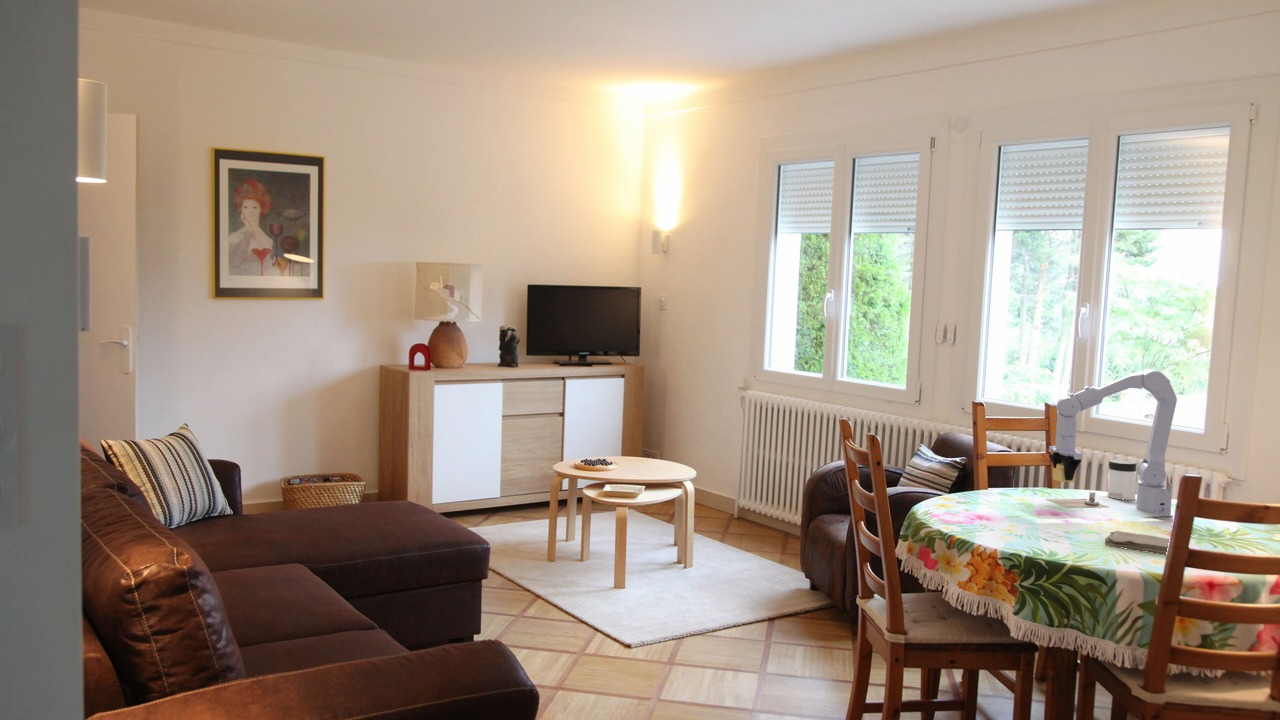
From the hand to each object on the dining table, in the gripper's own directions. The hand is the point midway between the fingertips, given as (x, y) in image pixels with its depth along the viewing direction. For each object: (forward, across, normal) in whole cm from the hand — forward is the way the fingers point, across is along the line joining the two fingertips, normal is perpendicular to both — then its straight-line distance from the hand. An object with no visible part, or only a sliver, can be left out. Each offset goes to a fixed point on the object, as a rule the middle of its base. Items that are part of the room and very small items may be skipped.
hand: (1063, 478), depth 300 cm
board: (+9, +2, +4) cm, 10 cm away
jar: (+9, -11, +28) cm, 31 cm away
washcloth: (+10, +48, -7) cm, 49 cm away
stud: (+8, +3, +8) cm, 11 cm away
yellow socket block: (+1, 0, 0) cm, 1 cm away
